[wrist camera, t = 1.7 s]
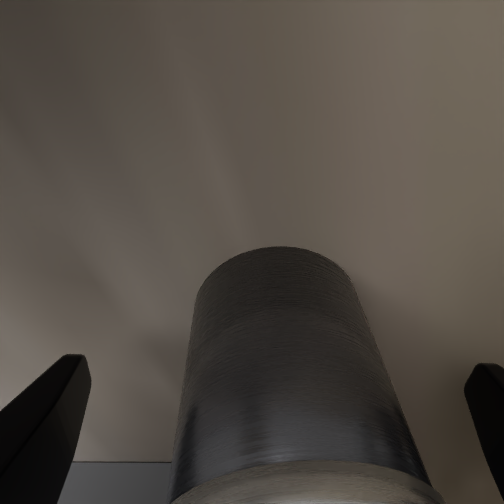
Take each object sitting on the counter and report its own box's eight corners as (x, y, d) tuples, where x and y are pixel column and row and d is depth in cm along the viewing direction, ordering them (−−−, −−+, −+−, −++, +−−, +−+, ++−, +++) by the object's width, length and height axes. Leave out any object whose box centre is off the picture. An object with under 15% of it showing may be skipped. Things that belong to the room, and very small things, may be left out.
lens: (378, 246, 9) (609, 659, 4) (342, 372, 12) (442, 734, 6) (188, 239, 9) (96, 670, 3) (192, 369, 12) (144, 744, 6)
